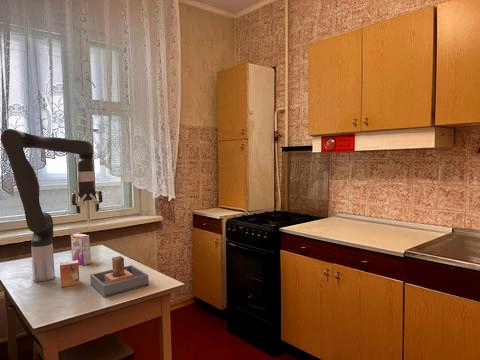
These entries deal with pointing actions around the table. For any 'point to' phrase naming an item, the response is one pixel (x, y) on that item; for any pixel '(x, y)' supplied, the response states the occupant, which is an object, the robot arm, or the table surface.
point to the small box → (69, 273)
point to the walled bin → (118, 281)
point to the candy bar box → (81, 248)
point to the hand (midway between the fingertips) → (88, 212)
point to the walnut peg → (118, 266)
